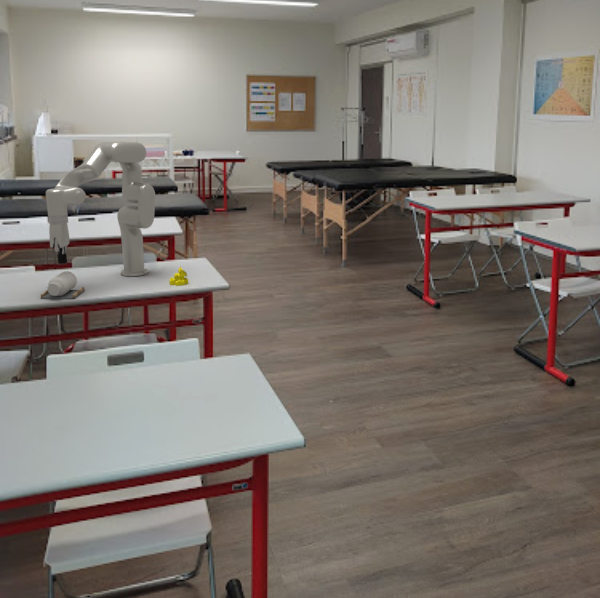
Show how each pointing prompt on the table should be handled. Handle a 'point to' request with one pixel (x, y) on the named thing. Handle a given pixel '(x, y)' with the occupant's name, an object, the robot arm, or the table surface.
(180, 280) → the yellow lumpy pyramid
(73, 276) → the pill bottle
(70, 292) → the grey tray
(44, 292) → the rails
